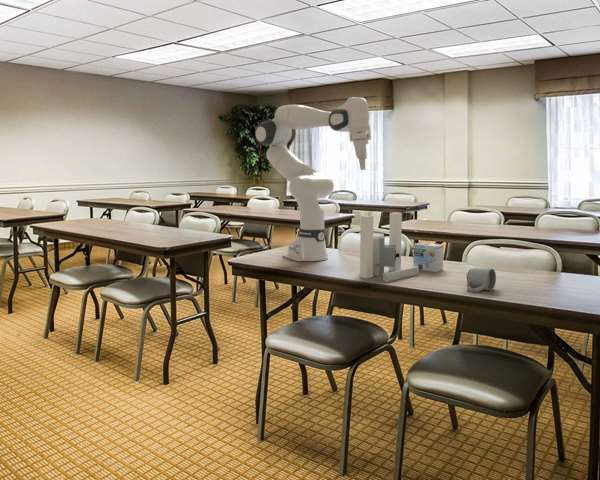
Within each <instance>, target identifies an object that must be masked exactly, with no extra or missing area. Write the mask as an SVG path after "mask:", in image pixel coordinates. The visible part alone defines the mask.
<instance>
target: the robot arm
mask: <svg viewBox="0 0 600 480" xmlns="http://www.w3.org/2000/svg"><path fill="white" fill-rule="evenodd" d="M369 110H370V109H369V104H368V101H367V99H365V98H364V97H356V96H354V97H349V98H347V100H346V101H345V102H344V103H343V104H342V105H340V106H339V107H337V108H335V109H333V110H332V111H325V110H321V109H318V108H315V107H311V106H308V105H303V104H287V105H285V104H284V105H282V106H279V107H278V108H277V109H276V110H275V113H274V118H273V119H270V118H268V119H266V120H265V121H263V122H261V123H260V124H258V125H257V126H256V128H255V131H254V138H255V140H256V142H257V143H259V144H260V145H263V146H269V148H268V149H267V151H266V159H267V160H268V162H269V164H270V165H271V166H272V167H273V168H274V169H275V170H276V171H277V172H278V173H279V174H280V175H281V176H282V177H283V178H284V179H285V180H287V182H289V186H288V187H289V192H290V195H291V196H292V197H293V198H294V199H295V201H296V204H297V206H298V209H299V216H300V218H299V220H300V221H299V222H300V224H299V225H300V228H299V229H296V233H298V234H297V236H296V238H294V239H293V240H291V242H290V243H289V244H288V246H287V253H284V254H282V257H283V256H284V257H283V258H286V259H290V260H293V261H296V262H319V261H320V262H321V261H324V260H325V261H326V260H328V258H329V257H328V253H327V252H328V251H327V246H326V240H325V237H326V228H325V212H324V210H323V209H322V208H321V206H320V204H319V199H322V198H326V197H328V196H330V195H331V194H332V193H333V191H334V188H335V187H334V186H335V184H334V180H333V179H332V178H331V177H330V176H327V175H325V174H323V173H321V172H319V171H318V170H316V169H315V168H312V167H311V166H309V165H307V164H306V163H304V162H303V161H302V160H301V159H300V158H298V157H297V156H296V155H295V154H294V153H293V152H292V151H290V150H289V149H288V148H290V147H291V146H292V143H294V140H295V138H296V130H307V129H314V128H320V127H329V128H330V129H332V130H333V131H335V132H348V133H349V135H348V136H349V142H351V143H352V145H353V146H354V151H355V156H356V158H357V159H358V162H359V168H360V170H361V171H364V170H366V160H367V158H368V155H367V145H368V144H369V141H370V140H372V135H371V134H372V132H371V125H370V111H369Z"/></svg>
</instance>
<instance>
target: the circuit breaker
mask: <svg viewBox="0 0 600 480" xmlns="http://www.w3.org/2000/svg"><path fill="white" fill-rule="evenodd" d="M385 238H386V236H385V235H373V277H374V276H375V277H376V276H377V277H383V273H385V267H387V268H389V267H395V260H396V257H399V254H400V253H396V250H395V245H389V244H385Z"/></svg>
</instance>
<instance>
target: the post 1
mask: <svg viewBox="0 0 600 480" xmlns="http://www.w3.org/2000/svg"><path fill="white" fill-rule="evenodd" d="M359 226H360V229H359V230H360V231H359V233H360V236H359V237H360V240H359V243H360V244H359V246H360V247H359V248H360V249H359V252H360V253H359V258H360V259H359V263H360V264H359V278H361V279H371V278H373V277H374V276H373V236H374V215H360V225H359Z"/></svg>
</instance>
